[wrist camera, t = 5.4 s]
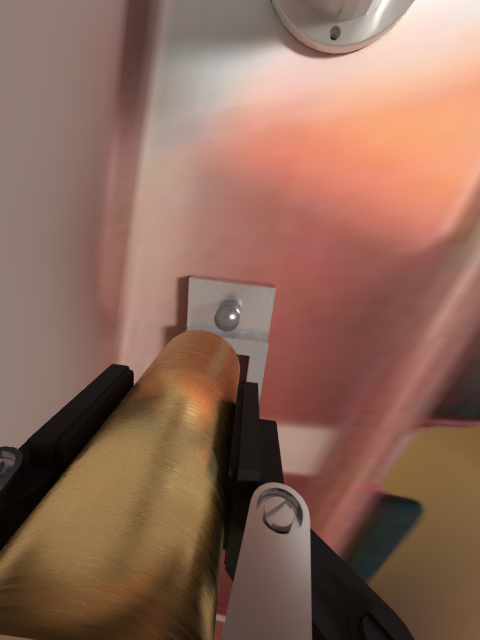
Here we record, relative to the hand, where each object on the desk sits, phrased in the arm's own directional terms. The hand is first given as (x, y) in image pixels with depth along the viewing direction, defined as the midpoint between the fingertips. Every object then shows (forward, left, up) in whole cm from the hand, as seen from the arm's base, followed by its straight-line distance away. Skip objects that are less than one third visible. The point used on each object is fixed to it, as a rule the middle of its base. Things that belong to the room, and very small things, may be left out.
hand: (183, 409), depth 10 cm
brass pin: (0, 0, -3) cm, 3 cm away
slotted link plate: (+6, 0, -20) cm, 21 cm away
